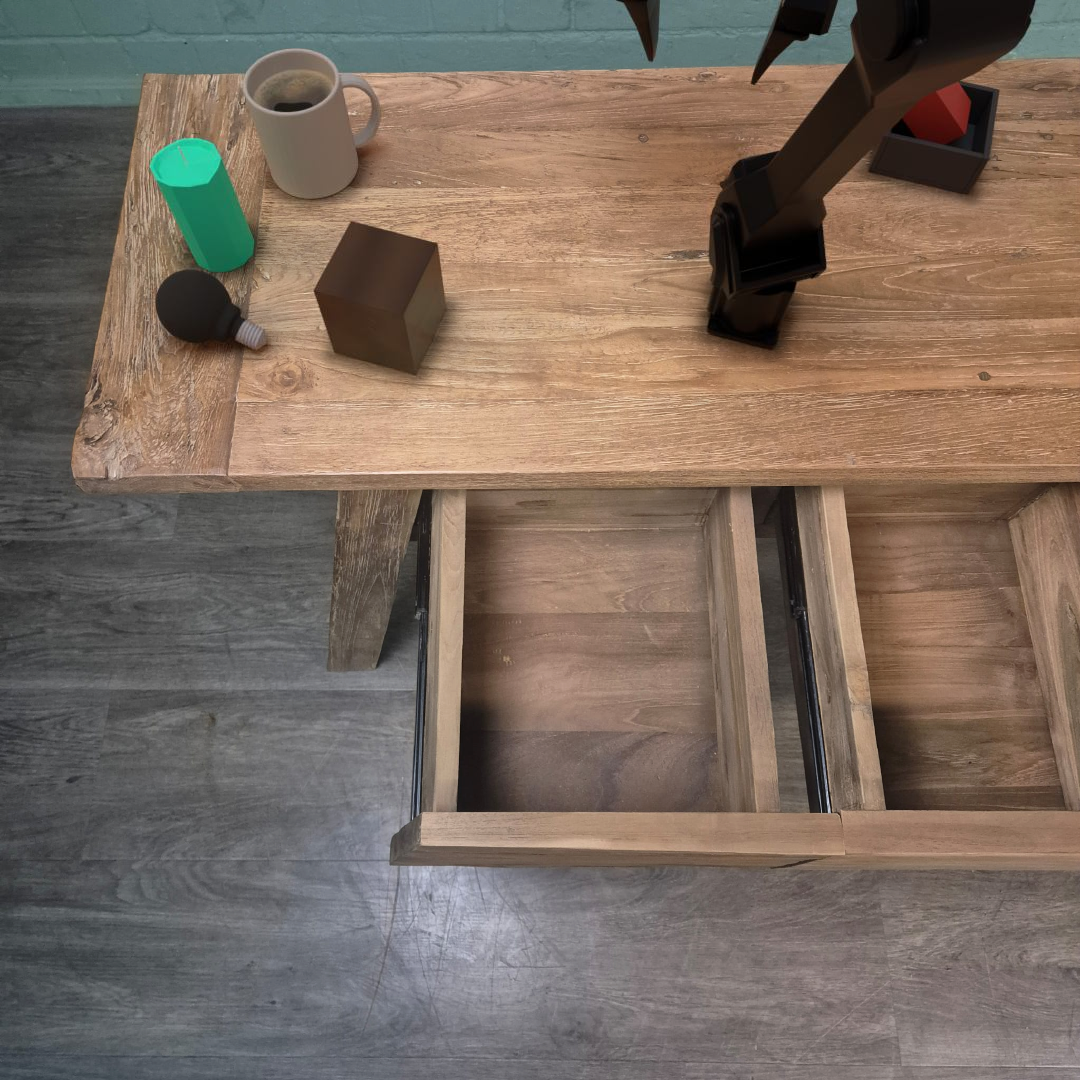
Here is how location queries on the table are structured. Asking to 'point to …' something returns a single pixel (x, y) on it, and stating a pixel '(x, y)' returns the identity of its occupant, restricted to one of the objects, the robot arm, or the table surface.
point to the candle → (204, 203)
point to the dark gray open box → (942, 148)
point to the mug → (306, 121)
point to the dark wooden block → (382, 297)
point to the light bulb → (203, 311)
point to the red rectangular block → (940, 115)
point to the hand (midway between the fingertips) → (702, 69)
